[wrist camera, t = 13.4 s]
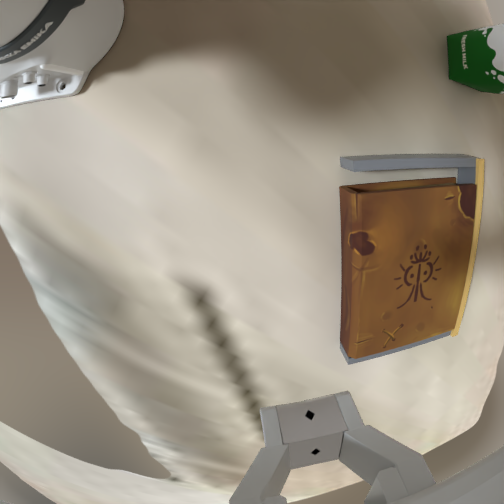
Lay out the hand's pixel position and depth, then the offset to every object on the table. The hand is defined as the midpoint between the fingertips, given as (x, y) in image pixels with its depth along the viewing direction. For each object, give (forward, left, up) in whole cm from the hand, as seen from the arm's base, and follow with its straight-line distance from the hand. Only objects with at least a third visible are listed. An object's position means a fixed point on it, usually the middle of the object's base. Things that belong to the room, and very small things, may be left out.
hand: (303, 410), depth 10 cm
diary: (+21, -11, -30) cm, 38 cm away
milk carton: (+34, +18, -29) cm, 48 cm away
